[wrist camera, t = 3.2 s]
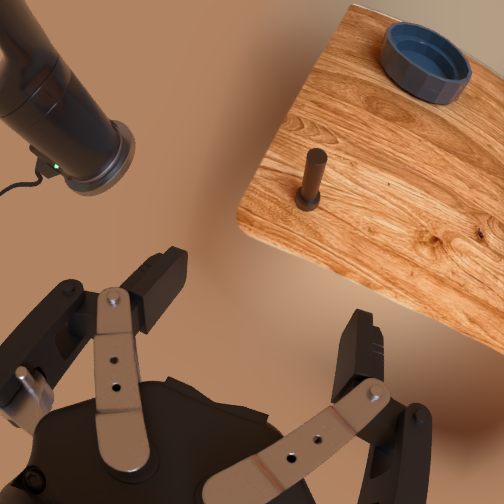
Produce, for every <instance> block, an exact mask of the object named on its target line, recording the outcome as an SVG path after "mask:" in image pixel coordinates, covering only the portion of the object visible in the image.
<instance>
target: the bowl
mask: <svg viewBox="0 0 504 504" xmlns="http://www.w3.org/2000/svg"><path fill="white" fill-rule="evenodd" d="M380 63H381V64H382V66H383V68H384V69H385V71H386V73H387V74H388V75H389V76H390V77H391V78H392V79H393V80H394V81H395V82H396V83H397V84H398V85H399V86H400V87H402V88H403V89H405V90H407V91H408V92H410V93H411V94H413V95H414V96H416V97H418V98H421V99H424V100H426V101H429V102H432V103H436V104H450V103H452V102H454V101H456V100H457V99H458V98H459V96H460V95H461V93H462V92H463V90H464V89H465V87H466V86H467V84H468V82H469V81H470V78H471V75H472V71H471V67H470V64H469V62H468V60H467V59H466V58H465V56H464V55H463V54H462V52H461V51H460V50H459V49H458V48H457V47H456V46H455V45H454V44H452V43H451V42H450V41H449V40H448V39H446V38H445V37H443V36H441V35H440V34H438V33H437V32H435V31H433V30H431V29H428V28H426V27H423V26H421V25H418V24H412V23H407V22H400V23H393V24H392V25H391V26H389V27H388V28H387V30H386V33H385V36H384V40H383V43H382V46H381V49H380Z"/></svg>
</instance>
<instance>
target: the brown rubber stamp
mask: <svg viewBox="0 0 504 504" xmlns="http://www.w3.org/2000/svg"><path fill="white" fill-rule="evenodd" d="M326 162H327V154H326V153H325V151H323V150H322V149H319V148H313V149H311V150H309V151H308V153H307V157H306V164H305V170H304V176H303V182H302V186H301V187H300V188H299V189H298V190H297V194H296V204H297V206H298V207H299V208H300V209H301V210H303V211H313V210H314V209H316V208H317V206H318V204H319V201H320V192H319V186H320V183H321V180H322V176H323V173H324V169H325V166H326Z"/></svg>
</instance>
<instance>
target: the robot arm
mask: <svg viewBox="0 0 504 504" xmlns="http://www.w3.org/2000/svg"><path fill="white" fill-rule="evenodd" d="M0 49H1V51H2V52H3V58H2V60H1V62H0V119H1V120H2V121H3V122H4V123H5V124H7V125H8V126H9V127H10V128H11V129H13V130H14V131H15V132H16V133H18V134H19V135H20V136H21V137H22V138H23V139H25V140H26V141H27V142H28V143H29V144H30V147H29V149H30V151H31V152H32V153H34V154H35V155H36V156H37V157H38V158H37V163H36V168H35V174H36V176H37V177H38V181H36V182H20V183H15V184H12V185H10V186H8V187H7V188H5V189H4V190H2V191H1V192H0V196H1V195H2V194H4V193H5V192H7V191H9V190H10V189H13V188H15V187H24V186H25V187H27V186H28V187H32V186H37V185H39V184H40V183H41V182H42V180H43V178H42V175H44V176H45V177H46V178H48V179H49V178H51V177H54V176H56V175H59V174H61V175H62V176H63V177H65V178H66V179H67V180H72V179H73V180H75V181H76V182H78V183H81V184H89V183H92V182H95V181H97V180H99V179H101V178H102V177H104V176H105V175H106V174H107V173H108V172H109V171H110V170H111V169H112V168H113V167H114V166H115V164H116V163H117V161H118V159H119V157H120V155H121V153H122V149H123V137H122V134H121V133H120V131H119V130H118V129H117V128H118V126H117V125H116V124H115V123H114V122H113V121H111V120H110V119H109V118H108V117H107V116H106V115H105V113H104V112H103V111H102V110H101V108H100V107H99V106H98V104H97V103H96V102H95V101H94V99H93V98H92V97H91V95H90V94H89V93H88V91H87V90H86V89H85V88H84V86H83V85H82V84H81V82H80V81H79V80H78V79H77V77H76V76H75V74H74V73H73V72H72V70H71V69H70V68H69V67H68V65H67V64H66V63H65V61H64V60H63V59H62V57H61V56H60V55H59V53H58V52H57V50H56V49H55V48H54V46H53V45H52V44H51V42H50V40H49V39H48V37H47V35H46V34H45V32H44V30H43V29H42V27H41V26H40V24H39V23H38V21H37V20H36V18H35V17H34V15H33V14H32V12H31V10H30V9H29V7H28V6H27V4H26V2H25V0H0ZM114 125H115V126H116V127H117V128H116V127H115V126H114ZM40 173H41V174H42V175H41V174H40ZM187 260H188V253H187V251H185V250H182V249H179V248H176V247H174V246H171V247H170V248H169V249H168V250H167V251H166V252H165V253H164V254H161V253H158V254H155V255H153V256H151V257H149V258H148V259H147V260H146V261H145V262H144V263H143V265H141V266H140V267H139V268H138V270H136V271H135V272H134V273H133V274H132V275H131V276H130V277H129V278H128V279H127V280H126V281H125V282H124V283H123V284H122V285H121V286H120V287H110V288H107V289H105V290H103V291H102V292H101V293H95V292H89V291H84V288H83V285H82V283H81V282H80V281H78V280H74V279H68V280H64V281H62V282H60V283H59V284H58V285H57V286H56V287H55V288H54V289H53V290H52V291H51V292H50V293H49V294H48V295H47V296H46V297H45V298H44V299H43V300H42V301H41V302H40V303H39V304H38V305H37V306H36V307H35V308H34V309H33V310H32V311H31V312H30V313H29V314H28V316H27V317H26V318H25V319H24V320H23V321H22V322H21V323H20V324H19V325H18V326H17V327H16V329H15V330H14V331H13V332H12V333H11V334H10V335H9V336H8V338H7V339H6V340H5V341H4V342H3V343H2V344H1V346H0V414H1V415H2V416H3V417H4V418H5V419H7V420H8V421H9V422H10V423H11V424H12V425H13V426H15V427H18V428H22V429H23V430H25V432H27V433H28V434H29V435H31V436H32V437H33V445H32V452H31V456H30V459H29V462H28V464H27V466H26V468H25V469H24V470H23V471H22V472H21V473H20V474H19V475H18V476H17V477H16V478H14V479H13V480H12V481H11V482H10V483H8V484H7V485H6V486H5V487H4V488H3V489H2V491H1V492H0V504H316V503H315V501H314V499H313V497H312V494H311V492H310V490H309V488H308V486H307V484H306V482H305V480H304V477H305V476H307V475H308V474H309V473H310V472H312V471H313V470H315V469H316V468H317V467H319V466H320V465H321V464H322V463H324V462H325V461H326V460H327V459H328V458H330V457H331V456H332V455H333V454H335V453H336V452H337V451H338V450H339V449H341V448H342V447H343V446H344V445H345V444H346V443H348V442H349V441H350V440H351V439H352V438H353V437H354V436H358V437H359V438H361V439H363V440H365V441H366V442H368V443H370V449H369V453H368V459H367V464H366V469H365V473H364V478H363V482H362V487H361V491H360V495H359V499H358V503H357V504H426V499H427V492H428V483H429V473H430V461H431V445H432V416H431V413H430V411H429V410H428V409H427V407H425V406H424V405H422V404H420V403H412V404H410V405H409V406H408V407H406V406H404V405H402V404H401V403H399V402H397V401H395V400H394V399H393V398H391V397H390V391H389V389H388V387H387V386H386V384H385V383H384V356H383V354H384V348H383V346H384V345H383V344H384V343H383V336H382V333H381V331H380V328H379V327H375V326H373V314H372V313H369V312H366V311H363V310H360V309H356V310H355V312H354V313H353V315H352V317H351V319H350V321H349V322H348V324H347V326H346V328H345V329H344V331H343V333H342V336H341V339H340V343H339V351H338V358H337V365H336V372H335V379H334V385H333V391H332V398H331V403H334V405H333V406H328V407H327V408H325V409H324V410H323V411H321V412H320V413H318V414H317V415H316V416H314V417H313V418H311V419H310V420H309V421H307V422H306V423H304V424H303V425H301V426H300V427H298V428H297V429H295V430H294V431H292V432H291V433H289V434H288V435H286V436H285V437H284V436H283V435H282V434H281V432H280V431H278V429H276V428H275V427H274V426H272V425H271V424H270V423H268V422H267V419H268V416H269V415H267V414H264V413H261V412H258V411H255V410H252V409H249V408H247V407H244V406H236V405H229V404H221V403H216V402H213V401H212V400H210V399H209V398H207V397H206V396H204V395H203V394H202V393H200V392H199V391H197V390H196V389H195V388H193V387H192V386H189V385H187V384H185V383H183V382H180V381H178V380H176V379H174V378H172V377H167V379H166V381H165V382H160V381H145V382H142V381H141V376H140V370H139V363H138V356H137V348H136V339H135V336H136V334H137V333H138V332H139V331H140V332H142V333H144V334H148V332H149V331H150V330H151V328H152V327H153V326H154V325H155V323H156V322H157V321H158V319H159V318H160V317H161V315H162V314H163V313H164V312H165V310H166V309H167V308H168V306H169V305H170V304H171V302H172V301H173V300H174V299H175V297H176V296H177V295H178V293H179V292H180V291H181V289H182V288H183V286H184V284H185V281H186V274H187ZM91 338H92V339H94V378H95V393H96V394H95V395H96V397H95V398H92V399H89V400H86V401H83V402H80V403H77V404H74V405H70V406H67V407H63V408H60V409H57V410H53V411H51V412H50V410H51V409H52V404H53V401H54V393H53V389H54V387H55V386H56V385H57V383H58V382H59V380H60V379H61V378H62V376H63V374H64V373H65V372H66V371H67V369H68V368H69V367H70V365H71V364H72V362H73V361H74V360H75V358H76V357H77V356H78V354H79V353H80V352H81V350H82V349H83V348H84V346H85V345H86V344H87V343H88V341H89V340H90V339H91Z"/></svg>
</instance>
